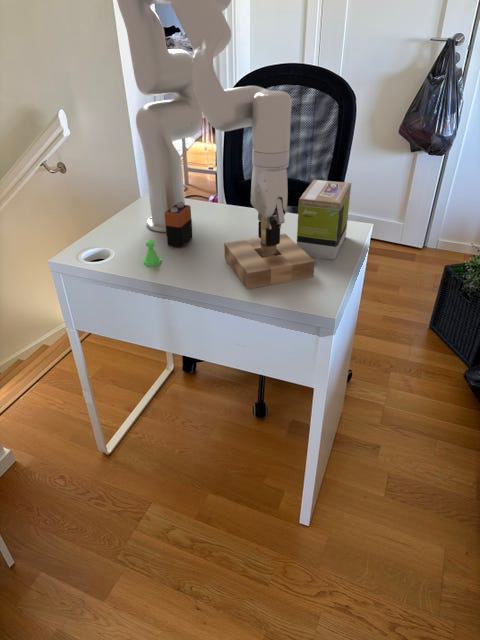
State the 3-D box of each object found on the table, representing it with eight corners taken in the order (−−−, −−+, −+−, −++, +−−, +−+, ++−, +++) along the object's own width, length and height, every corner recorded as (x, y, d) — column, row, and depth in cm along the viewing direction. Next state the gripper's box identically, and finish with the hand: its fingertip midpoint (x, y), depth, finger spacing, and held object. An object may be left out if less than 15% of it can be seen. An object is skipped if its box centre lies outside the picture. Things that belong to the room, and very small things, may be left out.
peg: (257, 256, 109) (258, 203, 102) (272, 254, 110) (274, 201, 103) (263, 263, 106) (264, 209, 99) (279, 261, 107) (281, 206, 100)
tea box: (309, 232, 126) (313, 177, 118) (346, 237, 123) (353, 181, 115) (294, 255, 115) (298, 196, 106) (335, 261, 112) (342, 202, 103)
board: (224, 258, 113) (224, 243, 111) (284, 248, 118) (285, 233, 115) (247, 289, 101) (247, 273, 99) (313, 276, 105) (314, 261, 103)
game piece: (165, 260, 113) (162, 237, 109) (154, 268, 109) (151, 244, 106) (150, 257, 114) (147, 234, 111) (140, 264, 111) (136, 241, 108)
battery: (193, 238, 123) (190, 201, 118) (182, 248, 118) (178, 211, 112) (178, 236, 125) (175, 199, 119) (166, 246, 119) (163, 208, 114)
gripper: (240, 150, 101) (241, 229, 111) (269, 171, 88) (267, 258, 98) (271, 147, 103) (270, 225, 113) (305, 166, 90) (299, 253, 100)
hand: (268, 240), depth 105 cm, fingers closed on peg, 3 cm apart
